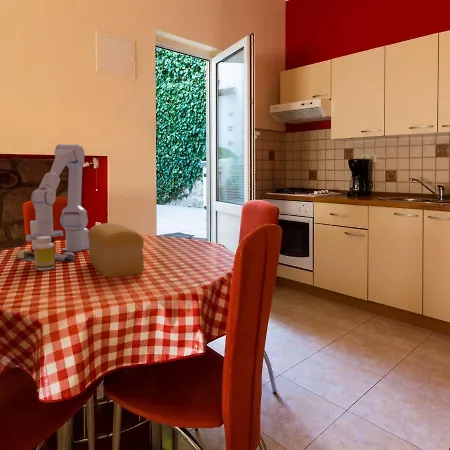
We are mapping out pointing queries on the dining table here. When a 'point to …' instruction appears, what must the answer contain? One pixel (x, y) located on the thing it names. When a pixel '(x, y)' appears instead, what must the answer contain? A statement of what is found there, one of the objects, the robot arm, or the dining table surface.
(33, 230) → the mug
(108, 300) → the dining table surface
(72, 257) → the dark-tipped long bar
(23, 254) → the block
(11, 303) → the dining table surface
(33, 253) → the tong arm
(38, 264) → the pill bottle
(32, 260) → the plate
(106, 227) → the bread
